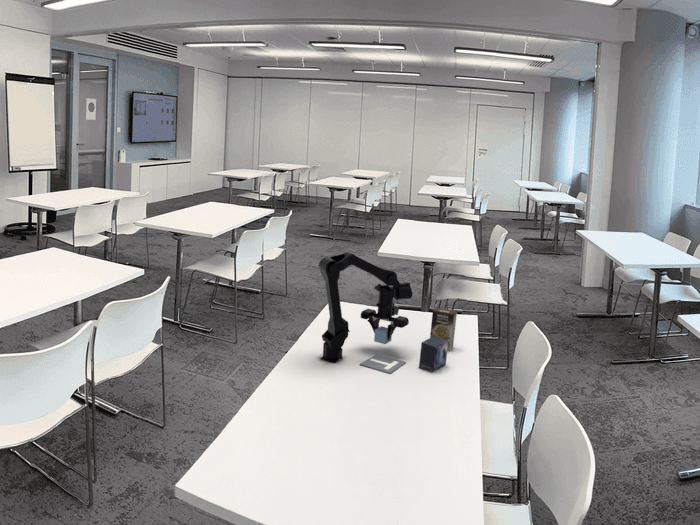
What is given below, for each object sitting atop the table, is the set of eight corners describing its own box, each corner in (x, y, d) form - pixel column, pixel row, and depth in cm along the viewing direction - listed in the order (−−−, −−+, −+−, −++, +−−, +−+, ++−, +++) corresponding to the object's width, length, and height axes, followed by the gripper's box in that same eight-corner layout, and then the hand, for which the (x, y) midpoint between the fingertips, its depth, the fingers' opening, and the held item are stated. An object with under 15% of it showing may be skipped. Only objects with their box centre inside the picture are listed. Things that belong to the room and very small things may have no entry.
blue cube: (374, 341, 230) (375, 329, 229) (380, 337, 234) (381, 326, 233) (385, 344, 227) (386, 332, 226) (391, 340, 232) (392, 328, 231)
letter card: (359, 365, 218) (359, 363, 218) (376, 354, 229) (376, 353, 229) (390, 374, 212) (390, 372, 212) (406, 363, 223) (406, 361, 223)
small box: (433, 373, 215) (435, 346, 213) (418, 368, 219) (420, 341, 216) (446, 365, 223) (449, 339, 221) (432, 360, 227) (434, 335, 225)
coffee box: (428, 347, 240) (431, 310, 237) (432, 342, 246) (435, 306, 242) (450, 352, 237) (454, 314, 233) (453, 347, 243) (457, 310, 239)
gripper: (416, 300, 229) (413, 338, 233) (374, 292, 238) (372, 328, 242) (403, 307, 220) (400, 346, 223) (361, 297, 229) (358, 335, 233)
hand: (382, 338), depth 231 cm, fingers closed on blue cube, 5 cm apart
